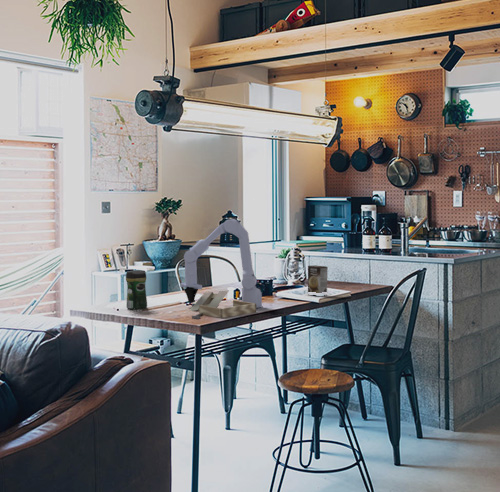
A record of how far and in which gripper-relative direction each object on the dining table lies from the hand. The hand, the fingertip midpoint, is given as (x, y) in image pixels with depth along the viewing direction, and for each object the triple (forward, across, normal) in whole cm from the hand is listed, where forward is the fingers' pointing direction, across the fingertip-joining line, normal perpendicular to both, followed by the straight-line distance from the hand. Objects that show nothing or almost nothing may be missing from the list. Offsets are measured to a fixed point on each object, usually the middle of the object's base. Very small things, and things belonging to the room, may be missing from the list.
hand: (191, 302), depth 337 cm
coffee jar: (+2, -14, -22) cm, 26 cm away
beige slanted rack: (+2, +14, 0) cm, 14 cm away
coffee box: (+2, +19, +72) cm, 75 cm away
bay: (+2, +27, 0) cm, 27 cm away
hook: (+2, +26, -16) cm, 31 cm away
